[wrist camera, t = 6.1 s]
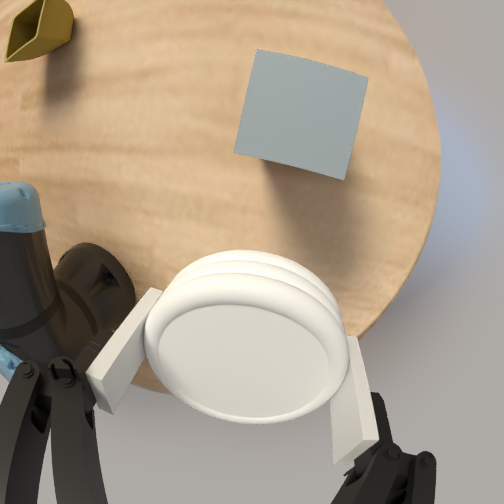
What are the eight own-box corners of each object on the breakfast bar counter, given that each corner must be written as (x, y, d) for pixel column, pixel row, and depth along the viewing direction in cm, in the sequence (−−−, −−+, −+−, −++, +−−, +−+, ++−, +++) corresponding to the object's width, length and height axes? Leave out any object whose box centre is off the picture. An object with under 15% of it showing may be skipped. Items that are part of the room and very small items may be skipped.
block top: (327, 168, 22) (343, 180, 16) (248, 148, 22) (233, 152, 16) (345, 93, 19) (368, 77, 13) (265, 73, 20) (256, 49, 13)
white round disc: (168, 225, 13) (133, 255, 10) (368, 270, 13) (389, 312, 9) (166, 363, 17) (147, 401, 14) (308, 395, 17) (308, 437, 14)
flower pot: (42, 66, 25) (3, 63, 17) (48, 24, 22) (12, 17, 14) (78, 46, 24) (36, 37, 16) (85, 3, 21) (48, -11, 13)
